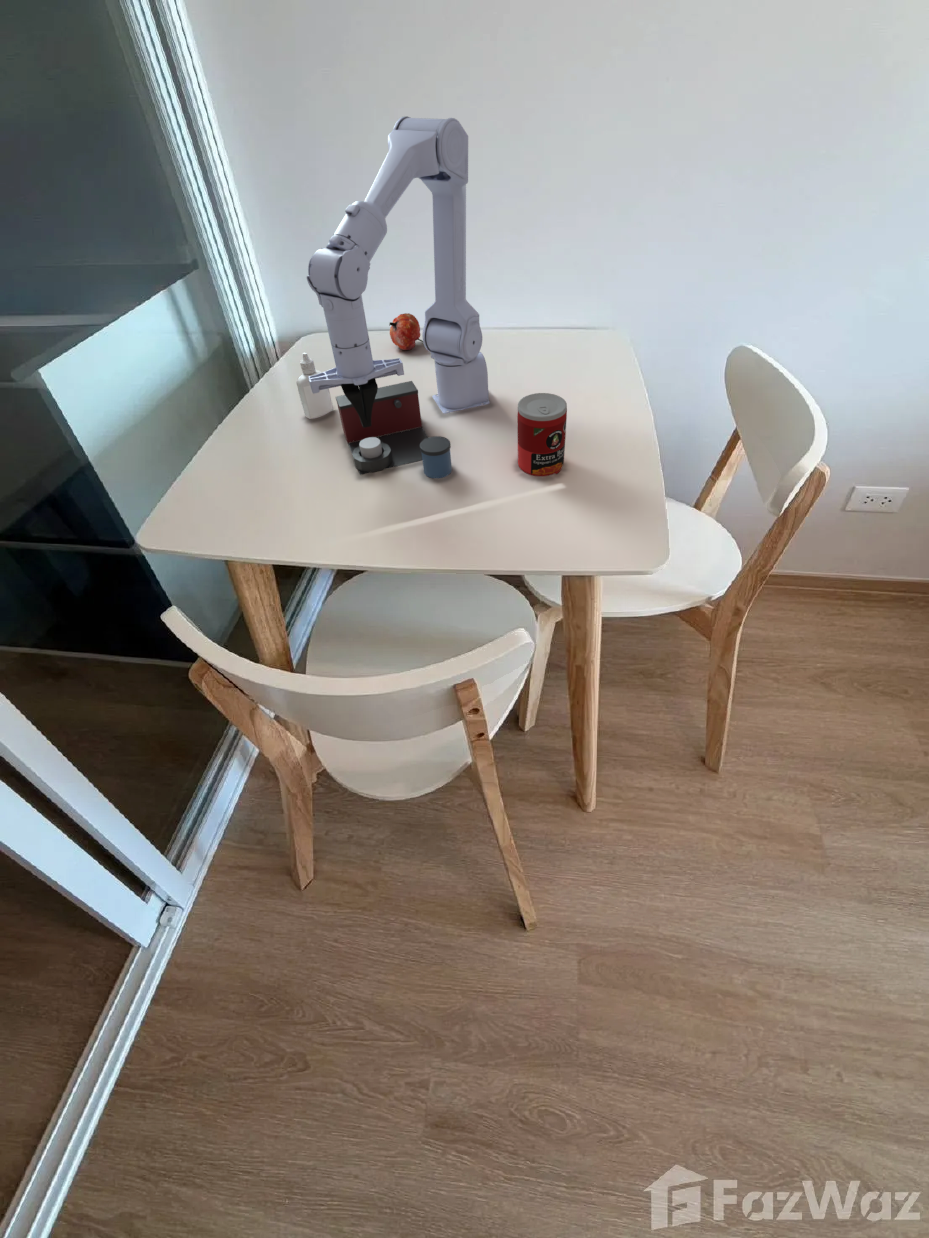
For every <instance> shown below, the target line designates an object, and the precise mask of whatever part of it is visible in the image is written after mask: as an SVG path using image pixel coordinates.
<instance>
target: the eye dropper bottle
mask: <svg viewBox="0 0 929 1238" xmlns="http://www.w3.org/2000/svg"><path fill="white" fill-rule="evenodd" d="M299 365H300V368H301V372H302V373H301V375H300V376H299V377H298V378H297V379H296V387H297V391H298V395H299V399H300V402H301V407H302V410H303V414H304V417H305V418H307V419H309V420H314V419H318V418H320V417H323V416H326V415H328V414H329V413H331V412H333V411H334V405H333V400H332V396H331V392H330V388H328V389H324V390H319V391H320V392H318V393H314V394H313V393H312V390H311V386H310V383H309V379H308V376H313V375H316V374H319V373H322V372H323V371H321V370H318V369H316V366H315V362H314V358H310V357H309V356H308V353H307V352H302V359H300V360H299Z"/></svg>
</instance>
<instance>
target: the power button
mask: <svg viewBox="0 0 929 1238" xmlns="http://www.w3.org/2000/svg"><path fill="white" fill-rule="evenodd" d="M359 446H360V451H361V455H362V457H364V458H375V457H378V456H380V455H381V454H382V447H381V441H380V440H379V439H378V438H375V437H369V438H365V439H363V440H360V443H359Z"/></svg>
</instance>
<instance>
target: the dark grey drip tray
mask: <svg viewBox="0 0 929 1238" xmlns="http://www.w3.org/2000/svg"><path fill="white" fill-rule="evenodd" d="M375 438H378V439H379V440H380V441H381V447H382V454H381V455H380V456H378V457H375V458H364V457H362V455H361V451H360V446H359V443H360V441H361V440H360V441H355V442H351V443H347V445H348V448H349V450H350V453H351V457H352V460H353V464H354V466H355V469H357V471H358V473H359V475H360V476H362V475H366V474H371V473H376V472H380V471H384V470H387V469H391V468H392V469H393V468H396V467H400V466H405V465H410V464H413V463H417V462H423V461H422V453H421V451H420V443H421V442H422V441H423V440H424V439H426V438H429V436H428V434H427V433H426V431H425V429H424V426H422V427H418V428H413V429H409V430H404V431H400V432H395V433H391V434H386V435H382V436H377V437H375Z"/></svg>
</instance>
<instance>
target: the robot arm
mask: <svg viewBox="0 0 929 1238" xmlns="http://www.w3.org/2000/svg"><path fill="white" fill-rule="evenodd" d="M387 149H388V152H387V154H386V156H385V158H384V160H383V162H382V164H381V166H380V168H379V169H378V173H377V175H376V177H375V178H374V181H373V183H372V185H371V187H370V188H369V191H368V192H367V195H366V197H365V198H364V200H356V201H354V202H352V203H349V204H348V205H347V206H346V208H345V211H344V212H345V214H344V216H343V218H342V219H341V221H340V223H339V224H338V226H337V228H336V229H335V231H334V233H333V234H332V235H331V236H330V239H329V240H328V242H327V245H326V246H325V247H321V248H318V249H317V250H316V251H315V252H314V253H313V254H312V256H311V257H310V258H309V261H308V266H307V267H308V268H307V273H308V275H306V281H307V284H308V285H309V288H310V289H311V290H312V291H313V292H314V293H315V294H316V296H317V298H318V304H319V305H320V306H321V308H322V309H323V315H324V319H325V324H326V328H327V332H328V337H329V342H330V346H331V350H332V351H331V352H332V356H333V360H334V364H335V367H333V368H330V369H328V370H324V371H321V372H322V373H319V374H316V375H313V376H308V379H309V383H310V386H311V390H312V393H313V394H314V393H318V392H320V391H319V390H324V389H328V388H329V389H332V388H337V387H341V389H342V392H343V395H345V396H346V397H347V399H348V400H349V401H350V402H351V404H352V405H353V407H354V408H355V410H356V411H357V413H358V415H359V417H360V421H361V424H362V426H363V428H366V427H370V426H372V425H371V416H372V408H373V403H374V400H375V397H376V394H377V391H378V388H379V387H378V383H377V380H376V379H381V378H385V377H390V376H395V375H396V376H398V377H399V376H404V375H405V371H404V363H403V361H402V360H401V358H400V357H397V358H389V359H373V354H372V353H373V352H372V347H371V341H370V336H369V331H368V324H367V319H366V313H365V306H364V301H363V293H365V291H366V290H367V285H368V282H369V281H368V279H369V271H370V269H371V261H372V259H373V258H374V256H375V254H376V252H377V251H378V249H379V247H380V246H381V244H382V242H383V240H384V239H385V237H386V236H387V234H388V225H387V220H386V218H387V217H388V216H389V214H390V213H391V211H392V210H393V208H395V206H396V204H397V203H398V201H399V200H400V198H401V197H402V196H403V195H404V193H405V192H406V190H407V189H408V187H409V186H410V184H411V183H412V182H413V180H414V179H419V180H420V181H421V182H422V183H423V184H424V185H425V186H426V188H427V189H428V190H429V191H430V193H431V197H432V227H433V228H432V229H433V233H432V234H433V258H434V259H433V263H434V264H433V265H434V267H433V268H434V269H433V270H434V300H435V301H434V302H433V303H432V304H431V305H430V306H428V307H427V308H426V310H425V311H424V325H423V329H422V334H421V335H422V336H421V338H422V341H423V342H422V343H423V347H424V348H425V350H426V351H428V352H429V353H430V358H431V359H433V360H434V369H435V379H436V390H437V394H433V395H432V396H431V397H432V399H433V400H434V402H435V403H436V405H437V406H438V408H439V410H440V411H441V413H442V414H450V413H453V412H454V413H455V412H459V411H463V410H467V409H473V408H476V407H477V408H478V407H482V406H486V405H489V404H490V403H491V401H489V375H488V374H489V373H488V366H487V361H486V358H485V356H484V353H482V352H481V348H482V347H483V333H482V329H481V324H480V313H479V312H478V311H477V310H476V309H475V308H474V306H472V304H471V303H470V302H469V301H468V300H467V184H468V183H469V135H468V133H467V132H466V130H465V128H464V127H463V125H462V124H461V122H460V121H459V120H458V119H456V118H455V117H448V118H428V117H427V118H426V117H410V116H405V115H404V116H401V117H399V118H397V120H396V122H395V123H394V126H393V129H392V130H391V131H390V132H389V133H388V135H387Z"/></svg>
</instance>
